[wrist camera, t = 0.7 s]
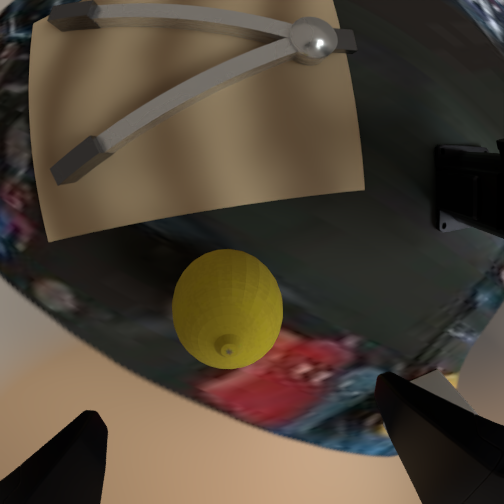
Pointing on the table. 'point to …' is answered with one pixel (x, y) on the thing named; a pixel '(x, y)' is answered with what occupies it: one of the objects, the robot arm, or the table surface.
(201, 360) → the lemon
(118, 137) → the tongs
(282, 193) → the board
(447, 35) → the table surface
